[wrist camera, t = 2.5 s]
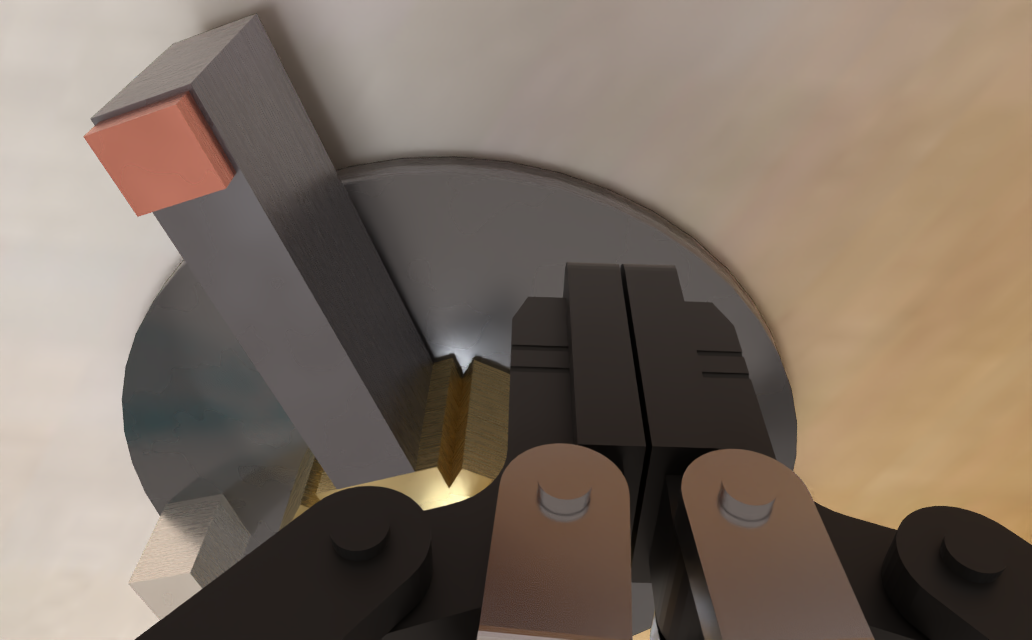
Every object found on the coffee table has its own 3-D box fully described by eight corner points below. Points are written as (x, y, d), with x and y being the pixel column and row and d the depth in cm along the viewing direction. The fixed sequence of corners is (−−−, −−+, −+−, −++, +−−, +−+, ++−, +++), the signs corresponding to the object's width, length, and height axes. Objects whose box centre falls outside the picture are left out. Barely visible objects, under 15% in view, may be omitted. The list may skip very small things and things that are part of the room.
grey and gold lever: (641, 546, 27) (659, 702, 23) (383, 596, 29) (355, 748, 25) (412, -44, 17) (368, 40, 12) (35, 93, 19) (-114, 207, 14)
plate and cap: (923, 274, 22) (1053, 469, 17) (644, 677, 34) (665, 874, 28) (144, 56, 19) (-21, 202, 14) (129, 578, 31) (36, 775, 25)
